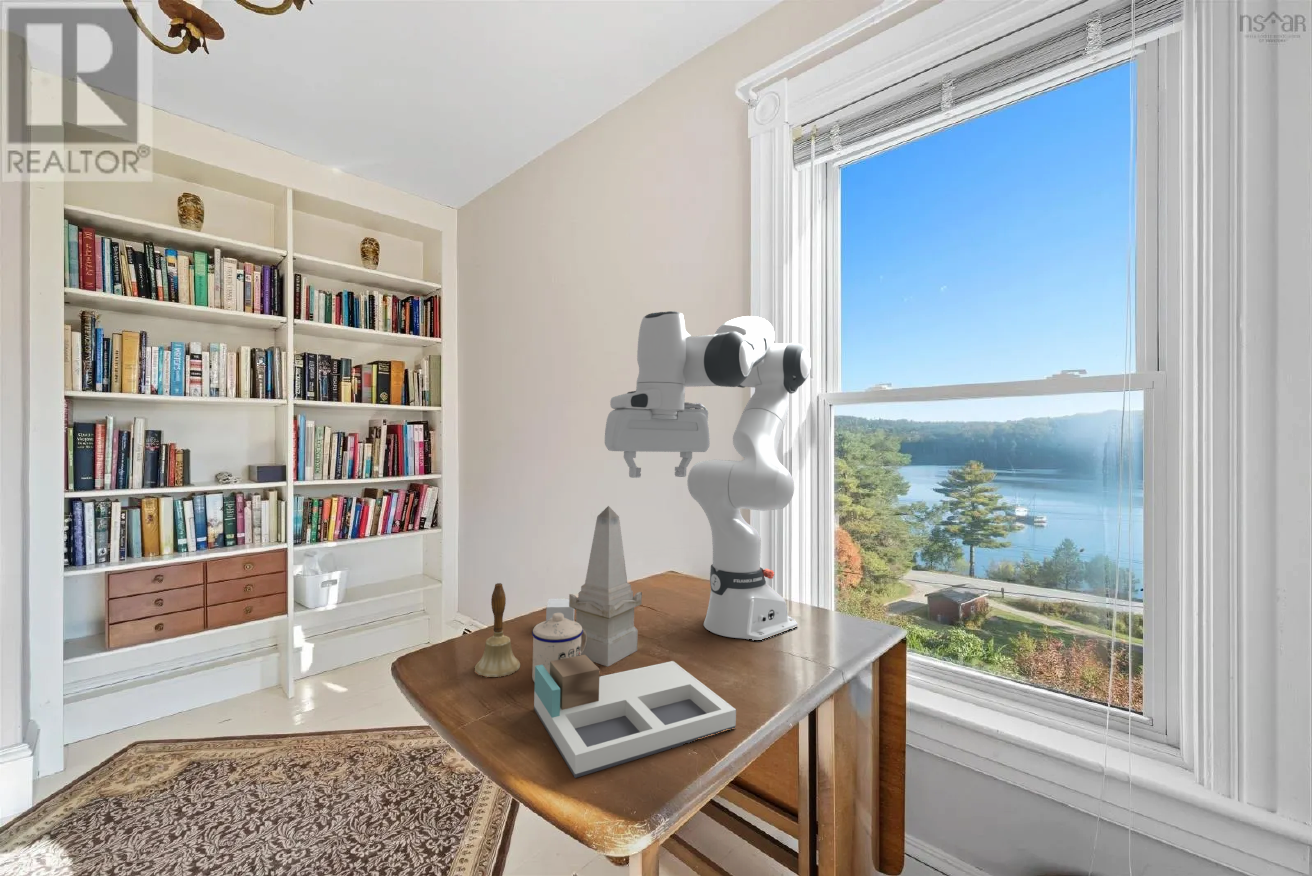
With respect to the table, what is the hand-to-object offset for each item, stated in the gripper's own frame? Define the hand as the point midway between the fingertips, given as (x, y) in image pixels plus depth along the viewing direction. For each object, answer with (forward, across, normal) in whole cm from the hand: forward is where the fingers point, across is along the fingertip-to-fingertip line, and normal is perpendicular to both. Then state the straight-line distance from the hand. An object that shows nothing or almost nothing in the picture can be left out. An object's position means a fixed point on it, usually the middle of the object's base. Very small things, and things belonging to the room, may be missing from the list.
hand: (658, 477), depth 96 cm
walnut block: (+34, +17, +5) cm, 38 cm away
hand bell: (+37, +24, -17) cm, 48 cm away
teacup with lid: (+37, +14, -9) cm, 41 cm away
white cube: (+37, +7, -31) cm, 49 cm away
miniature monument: (+37, +3, -15) cm, 40 cm away
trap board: (+37, +9, +10) cm, 39 cm away
